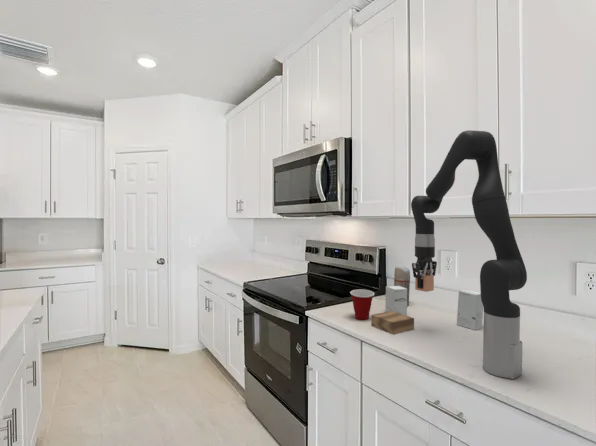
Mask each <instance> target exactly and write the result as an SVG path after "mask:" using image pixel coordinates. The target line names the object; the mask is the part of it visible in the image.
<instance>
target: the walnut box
mask: <svg viewBox="0 0 596 446" xmlns="http://www.w3.org/2000/svg"><path fill="white" fill-rule="evenodd" d="M371 327H373V328H375V329H379V330H380V331H383V332H386V333H388V334H391V335H397V334H401V333H405V332H409V331H414V330H415V317H411V316H408V315H403V314H400V313H397V312H394V311H389V312H384V311H383V312H379V313H378V312H377V313H374V314H371Z"/></svg>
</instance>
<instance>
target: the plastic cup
mask: <svg viewBox="0 0 596 446" xmlns="http://www.w3.org/2000/svg"><path fill="white" fill-rule="evenodd" d="M349 293H350V296H351V300H352V307H353V311H354V317H355V319H356V320H359V321H367V320H368V319H369V317H370V312H371V309H372V307H371V306H372V301H373V299H374V296H375V292H374V291H372V290H369V289H362V288H361V289H360V288H359V289H353V290H351V291H349Z"/></svg>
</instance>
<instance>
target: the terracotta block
mask: <svg viewBox="0 0 596 446" xmlns="http://www.w3.org/2000/svg"><path fill="white" fill-rule="evenodd" d="M420 275H421V273H420ZM434 278H435V276H434V275H428V274H424V278H423V289H420V288H418V287H417V278H415V277H414V282H415V284H414V285H415V286H414V287H415V288H414V289H415V291H421V292H425V293H427V292H432V291H434V288H435V284H434V281H435V280H434Z"/></svg>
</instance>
